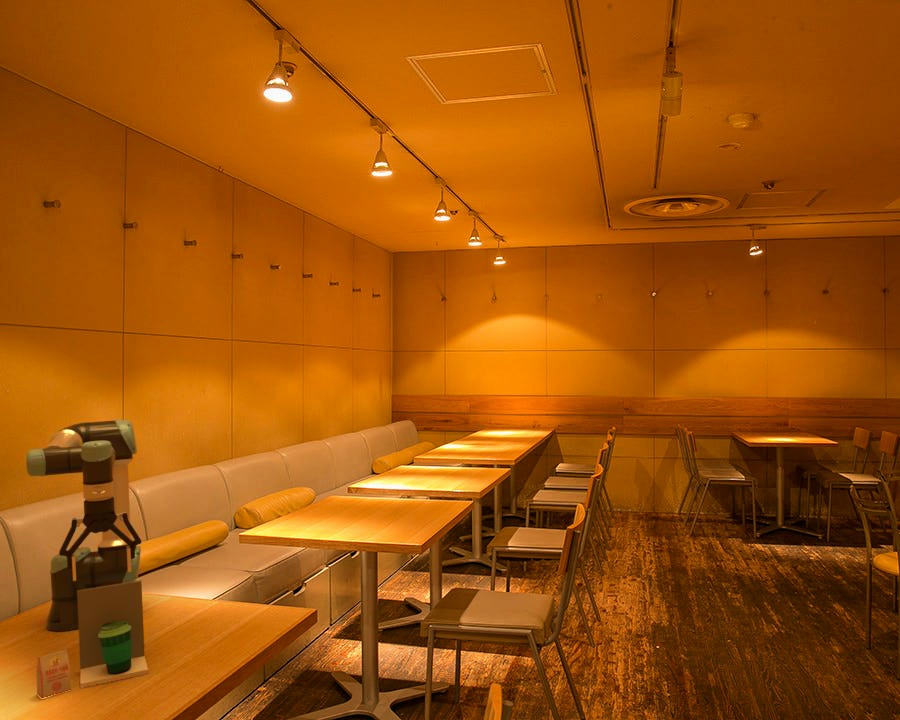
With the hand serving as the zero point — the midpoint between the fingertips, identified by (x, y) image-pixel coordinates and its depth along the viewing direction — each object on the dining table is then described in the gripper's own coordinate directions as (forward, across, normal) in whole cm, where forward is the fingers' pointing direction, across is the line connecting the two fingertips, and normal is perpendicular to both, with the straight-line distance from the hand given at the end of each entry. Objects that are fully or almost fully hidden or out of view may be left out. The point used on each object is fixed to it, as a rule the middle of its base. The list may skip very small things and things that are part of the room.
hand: (102, 575), depth 200 cm
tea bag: (+25, -12, -11) cm, 30 cm away
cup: (+24, +2, -7) cm, 25 cm away
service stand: (+25, +2, -6) cm, 26 cm away
